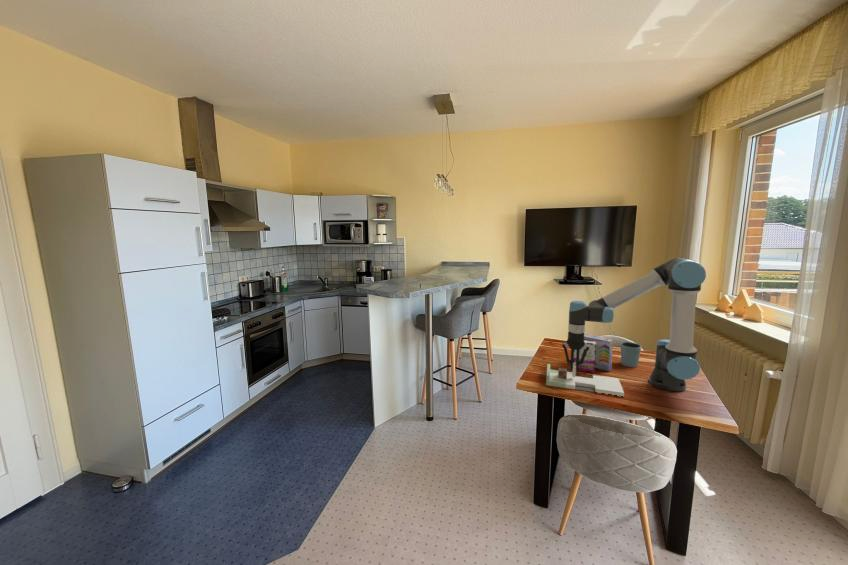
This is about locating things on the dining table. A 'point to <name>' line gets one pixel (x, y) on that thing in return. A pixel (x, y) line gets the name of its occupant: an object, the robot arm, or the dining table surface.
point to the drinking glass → (630, 354)
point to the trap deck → (585, 383)
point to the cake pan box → (602, 351)
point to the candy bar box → (587, 357)
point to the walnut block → (562, 373)
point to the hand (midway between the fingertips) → (573, 375)
